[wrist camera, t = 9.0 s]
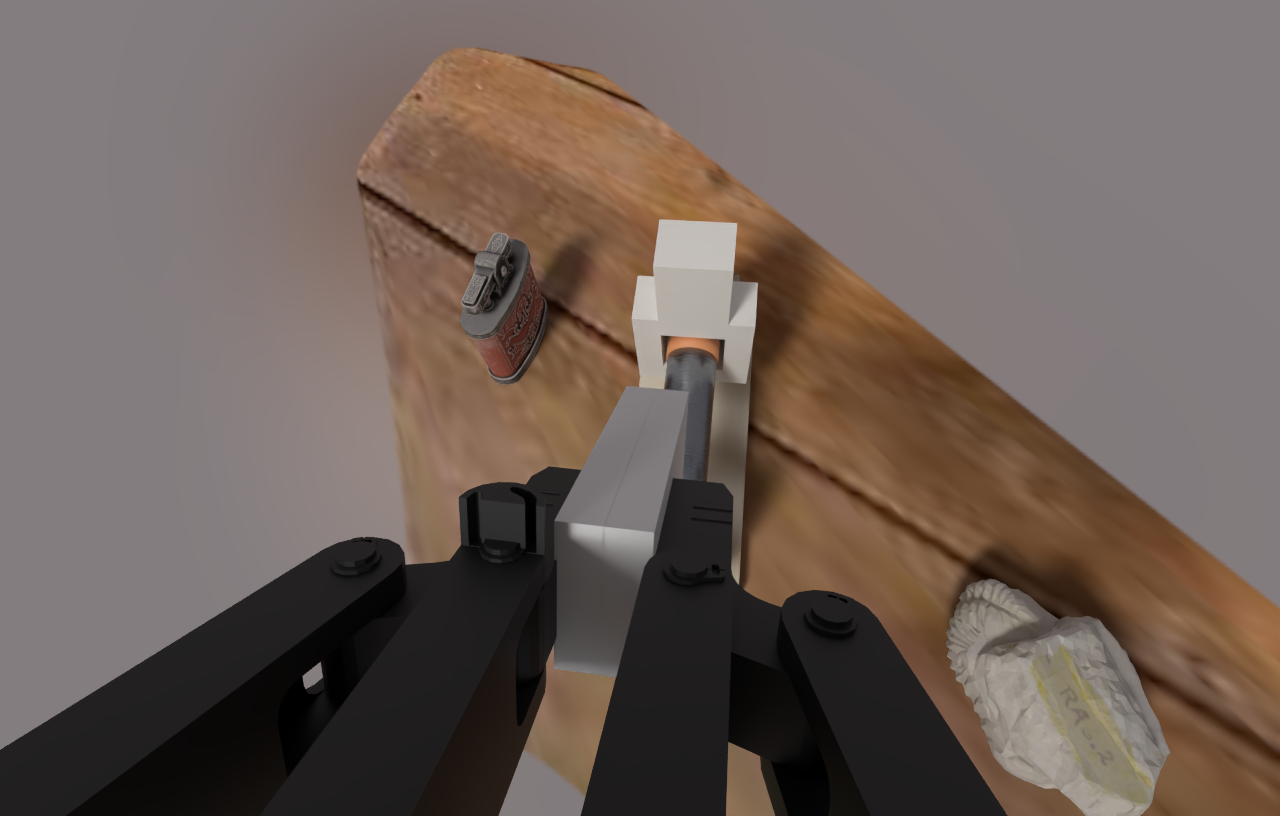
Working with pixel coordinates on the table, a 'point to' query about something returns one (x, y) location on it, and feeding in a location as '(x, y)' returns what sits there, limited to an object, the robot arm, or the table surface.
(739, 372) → the white pipe saddle block
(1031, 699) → the fossil replica
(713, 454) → the pipe stand
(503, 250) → the lighter
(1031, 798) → the table surface
